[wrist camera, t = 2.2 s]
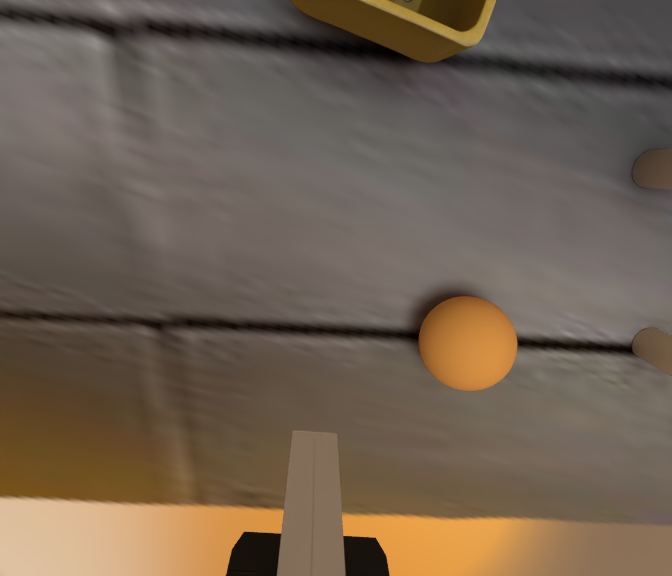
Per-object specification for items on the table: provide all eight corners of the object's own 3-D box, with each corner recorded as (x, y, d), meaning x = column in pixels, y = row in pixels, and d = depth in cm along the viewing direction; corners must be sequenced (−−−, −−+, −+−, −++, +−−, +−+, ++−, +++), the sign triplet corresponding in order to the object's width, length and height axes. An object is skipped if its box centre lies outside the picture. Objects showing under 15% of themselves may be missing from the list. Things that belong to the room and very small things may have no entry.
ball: (403, 359, 29) (424, 406, 24) (417, 281, 28) (443, 310, 22) (483, 366, 30) (522, 413, 24) (501, 289, 28) (548, 320, 22)
